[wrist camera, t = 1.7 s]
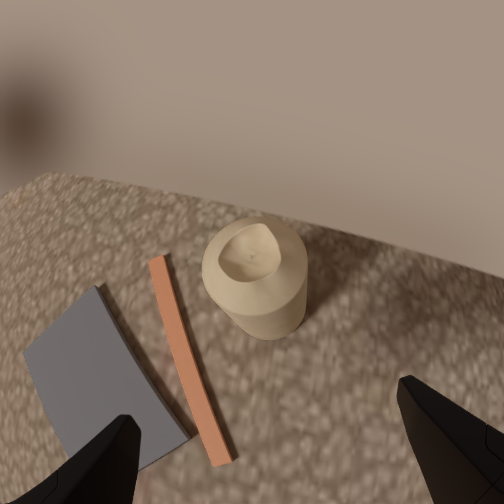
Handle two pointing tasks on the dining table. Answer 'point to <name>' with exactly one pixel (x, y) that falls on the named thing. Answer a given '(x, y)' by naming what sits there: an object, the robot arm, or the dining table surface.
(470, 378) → the dining table surface
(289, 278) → the candle
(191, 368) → the orange curved strip
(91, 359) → the mat
